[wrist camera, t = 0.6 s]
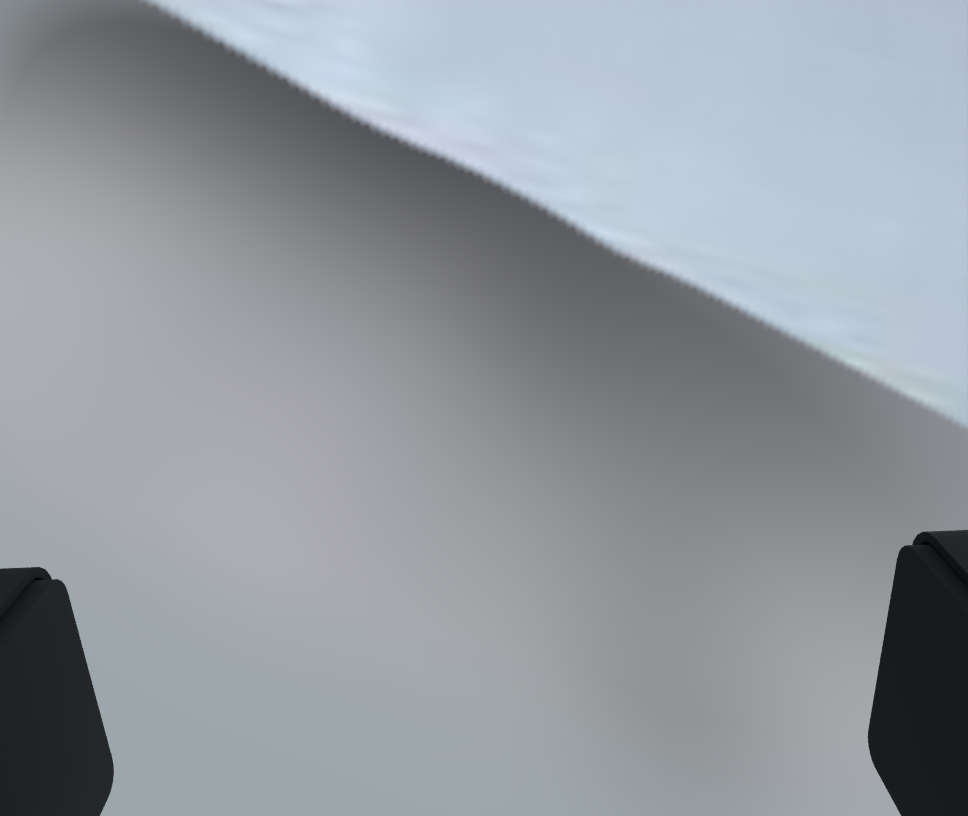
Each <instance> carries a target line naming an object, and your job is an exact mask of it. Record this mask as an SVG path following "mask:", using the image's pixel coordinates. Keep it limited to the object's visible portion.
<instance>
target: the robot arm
mask: <svg viewBox="0 0 968 816" xmlns="http://www.w3.org/2000/svg"><path fill="white" fill-rule="evenodd" d="M868 743H869V750H870V755H871V758H872V761H873V764H874V766H875V768H876V770H877V772H878V774H879V776H880V777H881V779H882V781H883V783H884V785H885V787H886V789H887V790H888V792H889V794H890V796H891V798H892V800H893V801H894V803H895V805H896V807H897V809H898V811H899V812H900V814H901V816H968V530H957V531H933V532H922V533H920V534H918V535H917V536H916V538H915V540H914V541H913V545H907V546H904V547H902V548H901V550H900V552H899V554H898V558H897V563H896V570H895V575H894V581H893V587H892V593H891V599H890V605H889V611H888V617H887V623H886V628H885V635H884V640H883V646H882V653H881V658H880V665H879V670H878V676H877V682H876V689H875V694H874V700H873V706H872V712H871V718H870V724H869V731H868ZM113 770H114V769H113V760H112V756H111V753H110V748H109V745H108V741H107V737H106V734H105V730H104V726H103V722H102V718H101V715H100V711H99V707H98V704H97V700H96V696H95V693H94V689H93V685H92V681H91V677H90V674H89V670H88V666H87V663H86V659H85V655H84V651H83V648H82V644H81V640H80V637H79V633H78V629H77V625H76V622H75V618H74V614H73V610H72V607H71V603H70V599H69V595H68V592H67V589H66V587H65V585H64V583H63V582H62V581H60V580H58V579H55V580H52V579H51V577H50V575H49V574H48V572H47V571H46V570H45V569H43V568H40V567H31V568H8V569H0V816H100V814H101V812H102V810H103V807H104V805H105V803H106V801H107V799H108V797H109V794H110V791H111V787H112V783H113V775H114V771H113Z"/></svg>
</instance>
